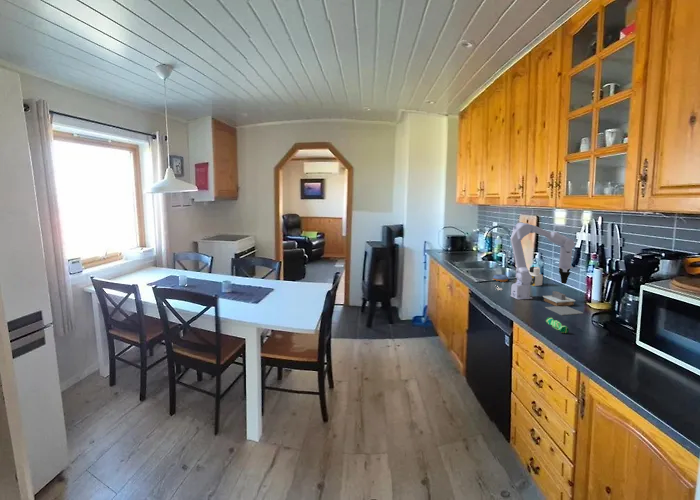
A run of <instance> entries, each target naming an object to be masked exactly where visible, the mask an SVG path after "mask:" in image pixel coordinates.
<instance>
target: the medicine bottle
mask: <svg viewBox="0 0 700 500" xmlns="http://www.w3.org/2000/svg"><path fill="white" fill-rule="evenodd" d="M529 273H530V275H531V276H532V281H531V282H530V286H531V287H538V286H543V279H544V278H543V274H540V273H541V268H540V267H539V266H530V267H529Z"/></svg>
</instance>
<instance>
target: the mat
mask: <svg viewBox="0 0 700 500" xmlns="http://www.w3.org/2000/svg"><path fill="white" fill-rule="evenodd" d="M545 309H546V310H549V311H551V312H554V313H556V314H558V315H560V316H572V315H584V312H582V311H579V310H578V309H574V308H572V307H571V306H554V305H553V306H545Z"/></svg>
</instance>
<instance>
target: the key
mask: <svg viewBox="0 0 700 500" xmlns="http://www.w3.org/2000/svg"><path fill="white" fill-rule="evenodd" d="M497 287H498V288H497ZM497 287H495V290H496V289H497V290H496V291H499V290H500V291H503V288H502V287H499V286H498V285H497Z"/></svg>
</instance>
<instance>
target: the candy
mask: <svg viewBox="0 0 700 500" xmlns="http://www.w3.org/2000/svg"><path fill="white" fill-rule="evenodd" d="M545 323H546V324H547V325H549V326H551V327H552V328H553V329H555V330H556V331H559V332H560V333H563V334H564V333H565V334H567V333H568V332H569V331H570V329H569V327H568V326H567V325H563V324H562V322H560V321H559V320H556V319H555V320H554V318H553V317H552V316H550V317H547V318H546V319H545Z"/></svg>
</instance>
